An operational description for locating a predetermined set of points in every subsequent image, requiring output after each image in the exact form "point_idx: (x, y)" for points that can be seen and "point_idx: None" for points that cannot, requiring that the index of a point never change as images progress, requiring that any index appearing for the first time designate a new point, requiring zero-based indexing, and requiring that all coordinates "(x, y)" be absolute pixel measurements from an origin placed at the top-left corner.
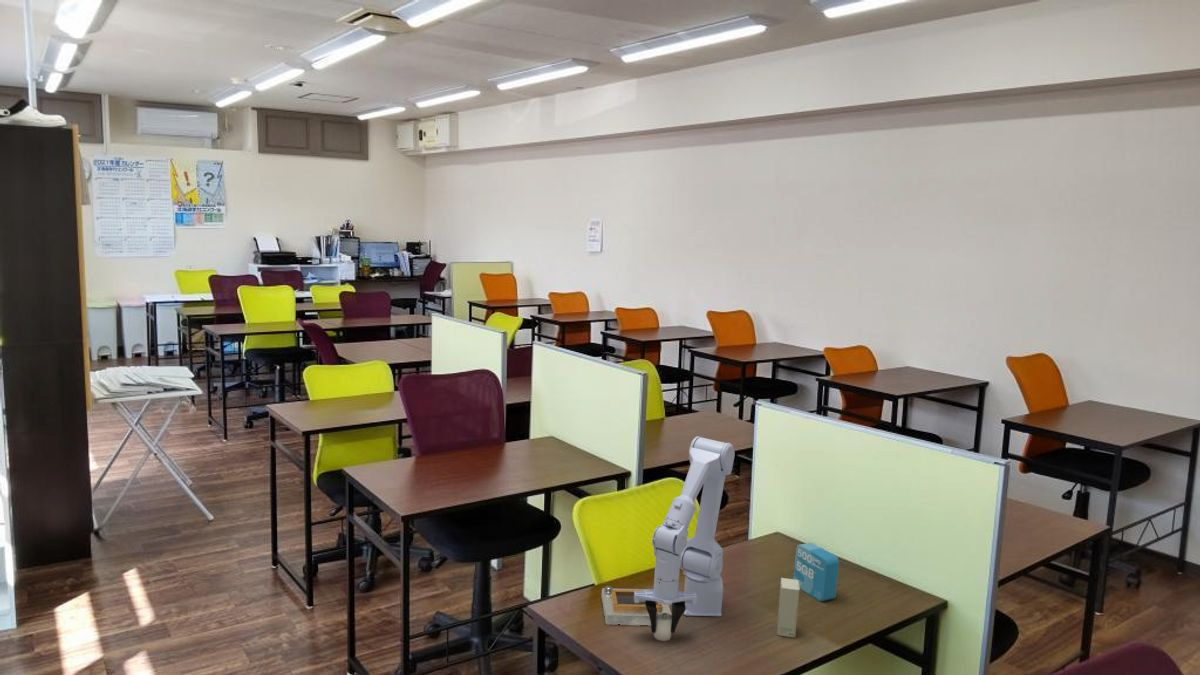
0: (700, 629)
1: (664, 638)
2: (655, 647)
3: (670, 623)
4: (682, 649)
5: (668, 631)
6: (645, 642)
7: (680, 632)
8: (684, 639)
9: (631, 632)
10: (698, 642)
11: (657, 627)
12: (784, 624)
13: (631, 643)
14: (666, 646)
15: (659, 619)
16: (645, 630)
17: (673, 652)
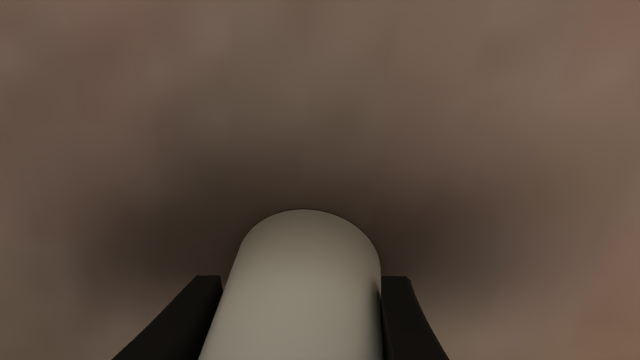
0: (24, 356)
1: (292, 223)
2: (391, 100)
3: (209, 346)
4: (126, 83)
5: (245, 273)
6: (475, 180)
7: None
8: (123, 238)
9: (564, 316)
10: (4, 202)
11: (360, 311)
12: None
13: (625, 156)
14: (280, 125)
15: None
16: None
17: (212, 18)
